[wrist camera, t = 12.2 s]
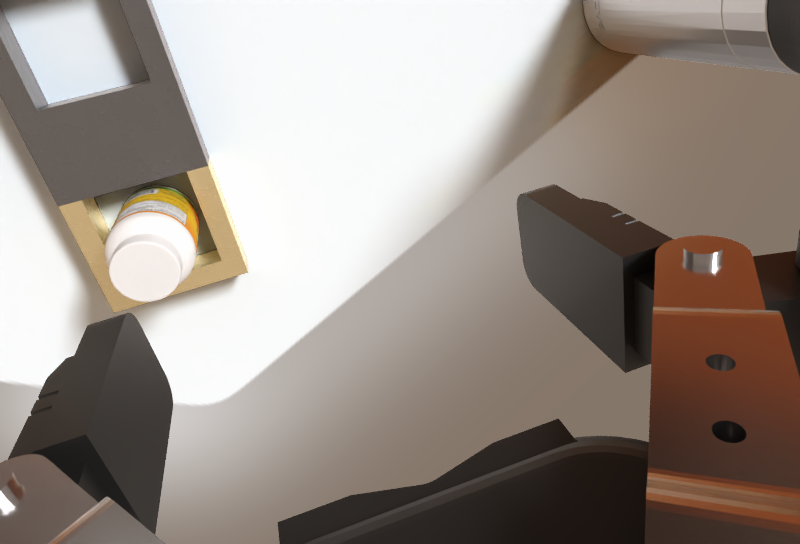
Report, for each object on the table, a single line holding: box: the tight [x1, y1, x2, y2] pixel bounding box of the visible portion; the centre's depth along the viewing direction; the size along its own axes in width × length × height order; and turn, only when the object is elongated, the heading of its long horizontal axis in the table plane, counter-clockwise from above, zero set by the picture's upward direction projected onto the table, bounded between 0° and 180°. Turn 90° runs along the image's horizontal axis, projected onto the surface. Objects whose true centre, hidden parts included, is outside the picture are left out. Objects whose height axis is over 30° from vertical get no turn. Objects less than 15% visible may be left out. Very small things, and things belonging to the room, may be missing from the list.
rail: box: [0, 0, 248, 313], centre depth 38 cm, size 10×24×2 cm, turn 11°
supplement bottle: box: [105, 186, 199, 302], centre depth 38 cm, size 5×5×10 cm
